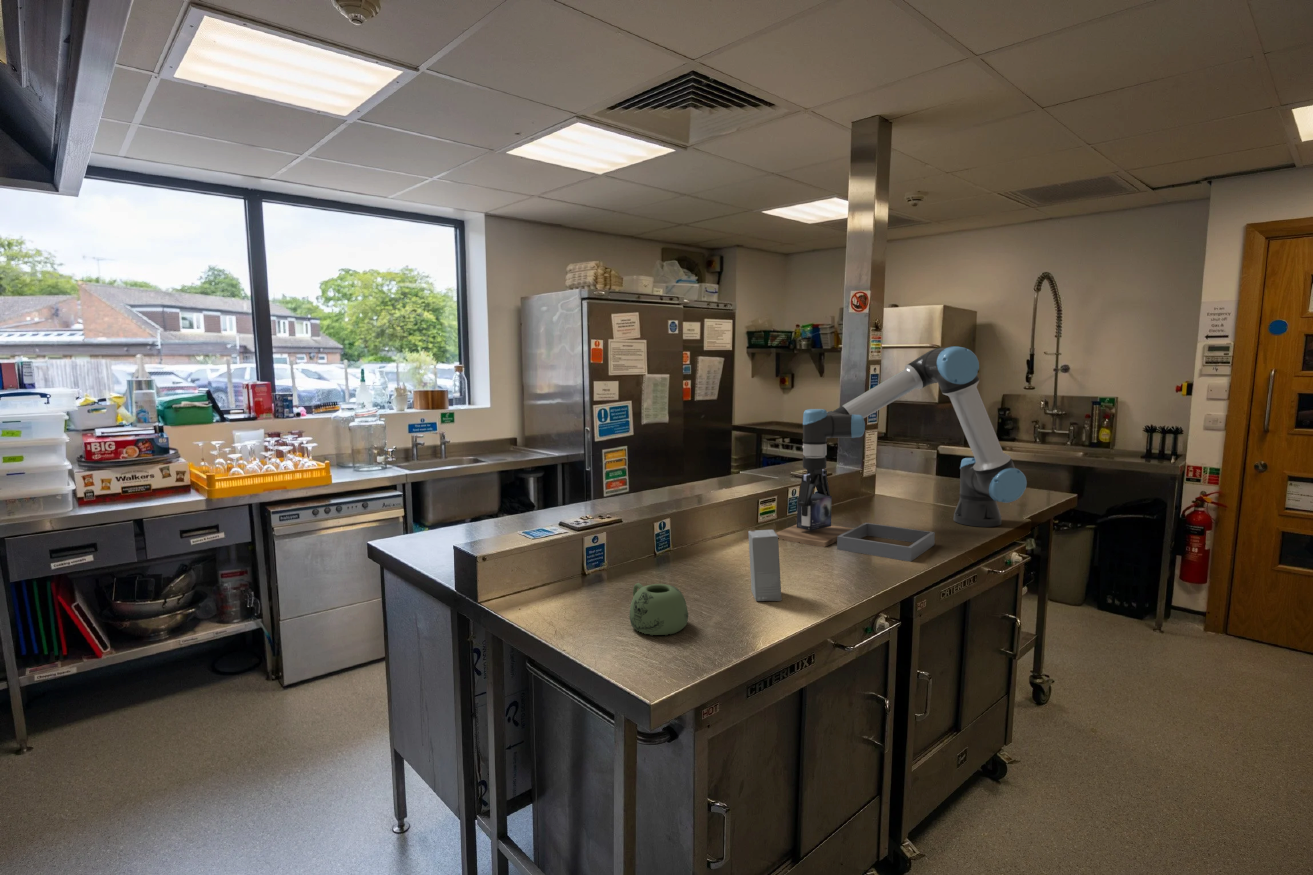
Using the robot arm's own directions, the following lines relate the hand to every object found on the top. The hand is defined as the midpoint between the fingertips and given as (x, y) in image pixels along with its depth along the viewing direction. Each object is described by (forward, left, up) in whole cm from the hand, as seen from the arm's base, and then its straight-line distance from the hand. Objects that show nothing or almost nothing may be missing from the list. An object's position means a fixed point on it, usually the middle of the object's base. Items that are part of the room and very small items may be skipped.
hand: (814, 522), depth 215 cm
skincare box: (+60, +16, -5) cm, 62 cm away
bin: (0, +24, -5) cm, 24 cm away
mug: (+90, +6, -5) cm, 90 cm away
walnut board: (0, 0, -5) cm, 5 cm away
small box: (0, 0, -2) cm, 2 cm away
